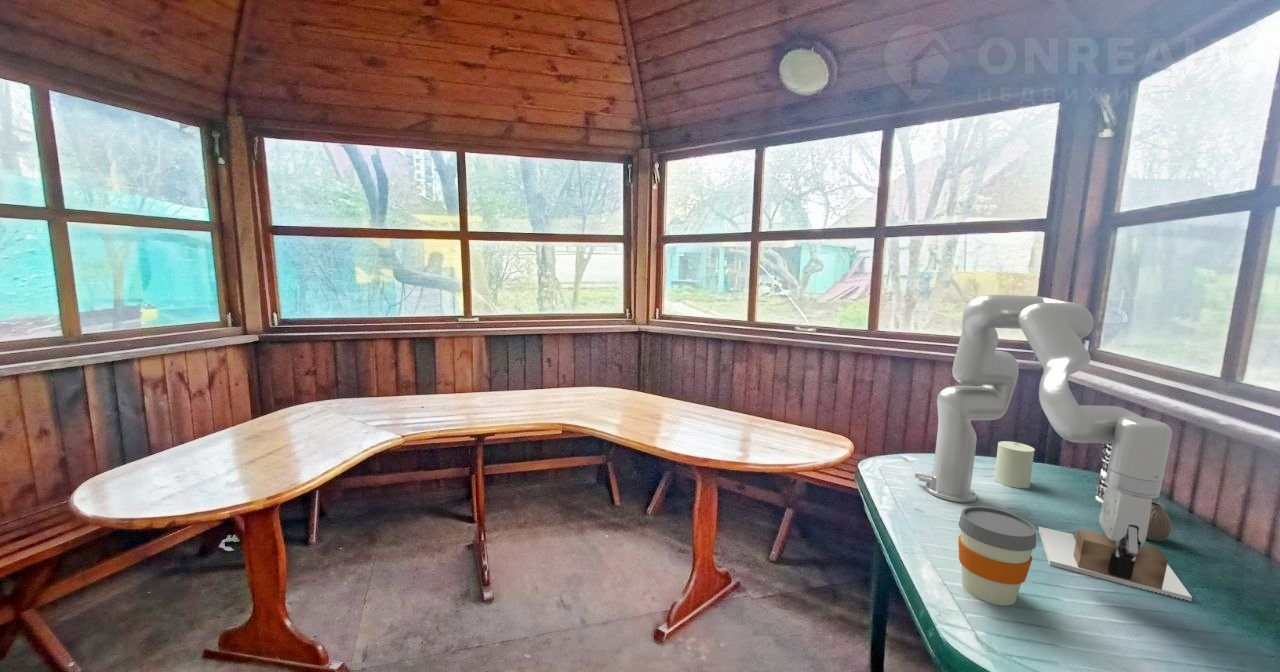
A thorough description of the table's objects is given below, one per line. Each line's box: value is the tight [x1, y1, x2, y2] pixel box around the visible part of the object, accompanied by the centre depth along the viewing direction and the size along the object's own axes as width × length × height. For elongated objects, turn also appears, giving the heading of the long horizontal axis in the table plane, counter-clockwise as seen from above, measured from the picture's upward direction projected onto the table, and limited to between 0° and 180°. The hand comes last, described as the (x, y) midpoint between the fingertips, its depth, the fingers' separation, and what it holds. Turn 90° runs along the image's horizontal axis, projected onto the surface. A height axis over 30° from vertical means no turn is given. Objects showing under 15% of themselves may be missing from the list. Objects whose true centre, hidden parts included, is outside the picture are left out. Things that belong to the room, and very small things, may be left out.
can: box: [992, 440, 1036, 489], centre depth 155 cm, size 9×9×12 cm
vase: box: [1146, 501, 1173, 543], centre depth 124 cm, size 7×7×9 cm
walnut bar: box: [1074, 528, 1169, 590], centre depth 99 cm, size 12×5×6 cm, turn 58°
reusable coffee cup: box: [957, 505, 1037, 607], centre depth 100 cm, size 13×13×15 cm
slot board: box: [1038, 526, 1193, 602], centre depth 113 cm, size 22×18×2 cm
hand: (1115, 567), depth 99 cm, fingers closed on walnut bar, 5 cm apart
